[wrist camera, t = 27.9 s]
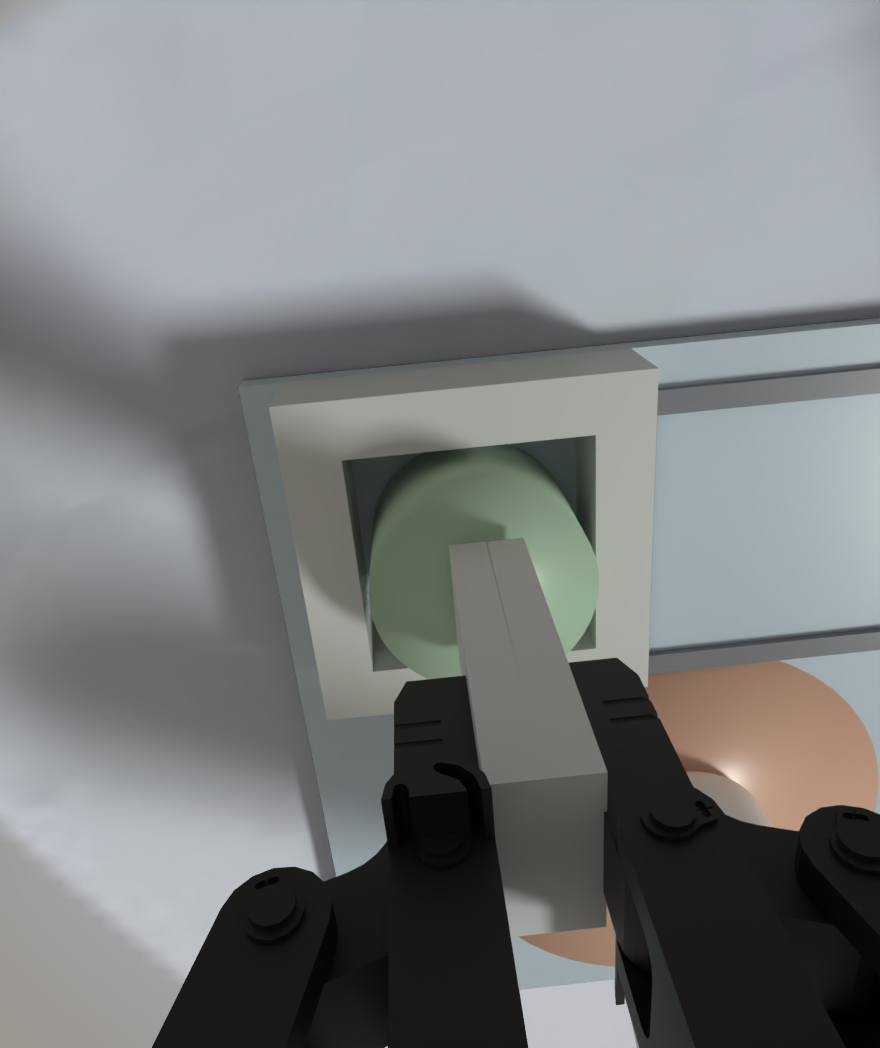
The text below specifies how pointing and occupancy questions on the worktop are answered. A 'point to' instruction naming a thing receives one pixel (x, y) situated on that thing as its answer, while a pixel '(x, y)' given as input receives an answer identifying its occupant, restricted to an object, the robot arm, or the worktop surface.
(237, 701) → the worktop surface
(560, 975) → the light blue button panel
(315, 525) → the button collar
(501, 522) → the button
